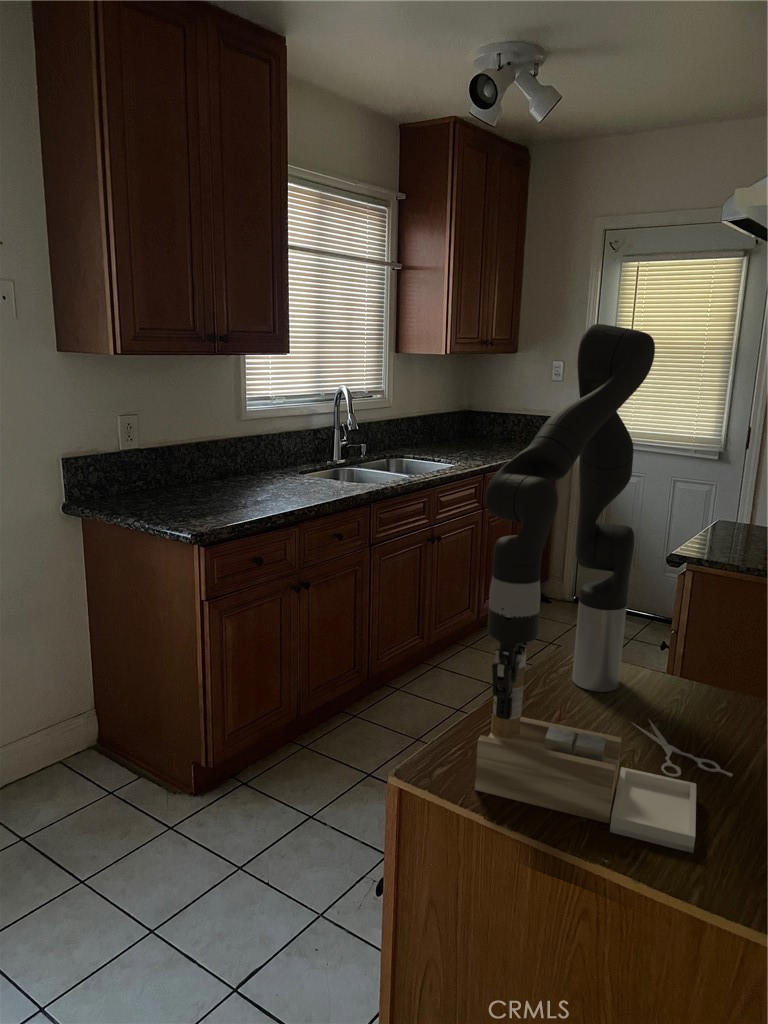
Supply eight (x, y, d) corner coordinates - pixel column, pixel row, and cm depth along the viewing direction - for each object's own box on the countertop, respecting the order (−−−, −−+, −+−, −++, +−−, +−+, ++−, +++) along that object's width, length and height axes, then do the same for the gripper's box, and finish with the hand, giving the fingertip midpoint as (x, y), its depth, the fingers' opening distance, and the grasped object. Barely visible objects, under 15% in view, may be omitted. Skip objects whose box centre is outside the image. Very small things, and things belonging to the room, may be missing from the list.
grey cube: (547, 749, 118) (549, 726, 117) (574, 755, 117) (576, 731, 116) (543, 762, 114) (544, 738, 114) (569, 768, 113) (571, 743, 112)
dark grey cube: (577, 756, 116) (579, 732, 116) (604, 761, 115) (606, 738, 114) (573, 769, 113) (575, 744, 112) (600, 775, 111) (603, 750, 110)
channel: (491, 758, 126) (494, 711, 124) (616, 787, 118) (621, 737, 116) (474, 789, 116) (477, 739, 115) (609, 823, 109) (614, 770, 107)
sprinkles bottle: (489, 725, 120) (494, 645, 117) (518, 725, 120) (523, 646, 117) (493, 739, 116) (498, 657, 113) (523, 740, 116) (528, 658, 113)
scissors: (674, 781, 120) (611, 719, 139) (673, 785, 120) (611, 723, 139) (733, 775, 122) (663, 715, 141) (732, 779, 122) (663, 718, 141)
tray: (619, 781, 120) (621, 766, 119) (694, 798, 116) (696, 783, 115) (609, 831, 107) (611, 816, 107) (693, 853, 103) (695, 836, 103)
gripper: (501, 588, 121) (494, 687, 125) (477, 616, 109) (471, 726, 112) (548, 595, 119) (540, 696, 122) (529, 625, 106) (521, 736, 109)
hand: (507, 710), depth 117 cm, fingers closed on sprinkles bottle, 4 cm apart
